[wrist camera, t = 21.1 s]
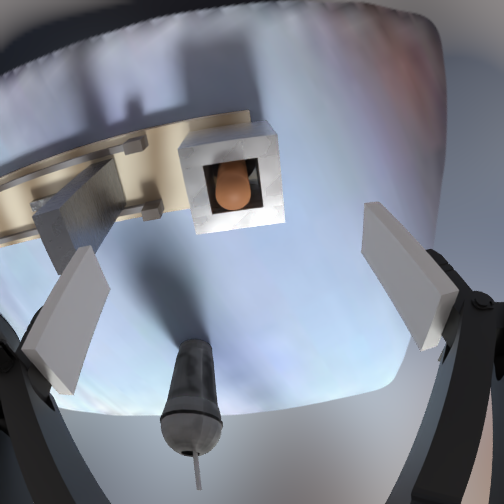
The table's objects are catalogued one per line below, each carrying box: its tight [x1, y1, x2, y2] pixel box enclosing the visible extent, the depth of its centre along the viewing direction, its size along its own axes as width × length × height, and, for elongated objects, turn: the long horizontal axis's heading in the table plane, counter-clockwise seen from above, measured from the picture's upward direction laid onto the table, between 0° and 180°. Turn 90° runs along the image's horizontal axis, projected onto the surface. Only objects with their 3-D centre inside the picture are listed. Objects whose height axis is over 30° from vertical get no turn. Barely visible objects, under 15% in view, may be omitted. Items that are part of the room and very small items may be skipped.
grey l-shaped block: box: [29, 158, 126, 275], centre depth 21 cm, size 11×5×10 cm, turn 97°
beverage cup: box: [160, 339, 223, 490], centre depth 32 cm, size 7×7×20 cm
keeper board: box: [0, 110, 257, 248], centre depth 23 cm, size 34×8×9 cm, turn 97°
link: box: [177, 120, 285, 235], centre depth 23 cm, size 6×6×6 cm
